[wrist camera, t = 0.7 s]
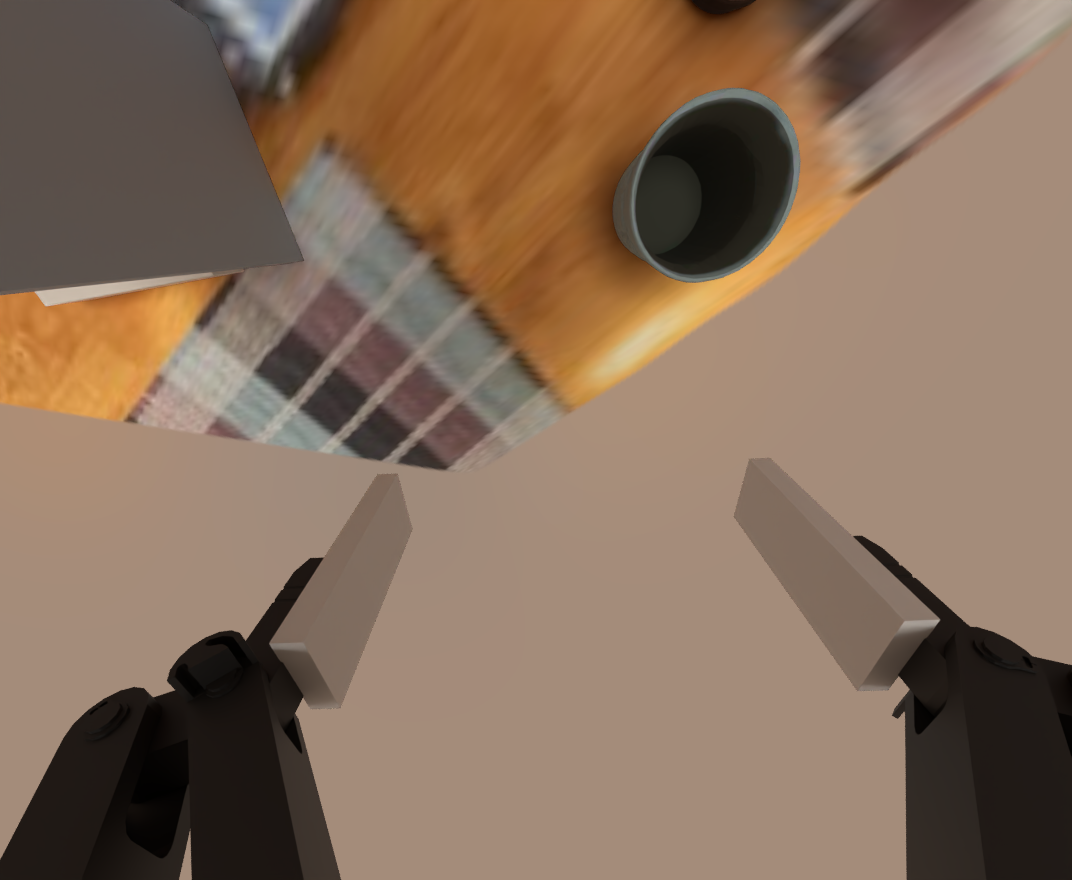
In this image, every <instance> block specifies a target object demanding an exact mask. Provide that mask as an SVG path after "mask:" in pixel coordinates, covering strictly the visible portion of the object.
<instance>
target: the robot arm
mask: <svg viewBox="0 0 1072 880" xmlns="http://www.w3.org/2000/svg"><path fill="white" fill-rule="evenodd" d="M734 518H735V519H736V520H737V522H738V523H739V525H740V526H741V527H742V529H743V530H744V532H745V533H746V534H747V536H748V537H749V539H750V540H751V542H752V543H753V544H754V546H755V547H756V549H757V550H758V551H759V553H760V554H761V556H762V557H763V558H764V560H765V561H766V563H767V564H768V565H769V567H770V568H771V570H772V571H773V573H774V574H775V576H776V577H777V578H778V580H779V581H780V582H781V584H782V585H783V587H784V588H785V590H786V591H787V592H788V594H789V595H790V597H791V598H792V599H793V601H794V602H795V604H796V605H797V607H798V608H799V609H800V611H801V612H802V614H803V615H804V617H805V618H806V619H807V621H808V622H809V624H810V625H811V626H812V628H813V629H814V631H815V632H816V633H817V635H818V636H819V638H820V639H821V641H822V642H823V643H824V645H825V646H826V647H827V649H828V650H829V652H830V653H831V655H832V656H833V657H834V659H835V660H836V662H837V663H838V665H839V666H840V667H841V669H842V670H843V672H844V673H845V674H846V676H847V677H848V678H849V680H850V681H851V683H852V684H853V686H854V687H855V688H856V690H857V691H876V690H889V688H890V687H891V686H892V684H893V683H894V682H895V680H896V679H897V678H898V676H899V677H900V678H901V679H902V680H903V681H904V683H905V684H906V685H907V686H908V687H909V689H910V690H909V691H908V693H907V694H906V695H905V696H904V698H903V699H902V700H901V701H900V703H899V704H898V705H897V706H896V708H895V709H894V712H893V715H892V716H894V717H895V718H899V717H900V716H901V714H902V713H903V712H905V738H906V739H905V746H906V857H907V858H906V861H907V880H1072V665H1068V664H1064V663H1059V662H1055V661H1051V660H1046V659H1042V658H1037V657H1033V656H1031V655H1030V654H1029V653H1028V652H1027V651H1026V650H1024V649H1023V648H1021V647H1020V646H1018V645H1017V644H1015V643H1014V642H1012V641H1011V640H1009V639H1007V638H1005V637H1003V636H1001V635H998V634H996V633H994V632H992V631H988V630H985V629H981V628H978V627H970V626H969V625H967V624H966V623H965V622H963V620H962V619H961V618H960V617H958V616H957V615H956V614H955V613H954V612H953V611H952V610H951V609H949V608H948V607H947V606H946V605H945V604H944V603H943V602H942V601H941V600H940V599H938V598H937V597H936V596H935V595H934V594H933V593H932V592H931V591H929V589H927V588H926V587H925V586H924V585H923V584H922V583H921V582H920V581H919V580H917V579H916V578H913V577H912V574H911V573H910V572H909V571H907V570H906V569H905V568H904V567H903V566H900V565H899V562H897V561H896V560H895V559H894V558H893V557H892V556H891V555H890V554H889V553H887V552H886V551H885V550H884V549H883V548H881V547H880V546H878V545H877V544H875V543H873V542H871V541H870V540H868V539H866V538H865V537H863V536H852V535H851V534H850V533H849V532H848V531H847V530H845V529H844V528H843V527H842V526H841V525H840V524H839V523H838V522H837V521H836V520H835V519H834V518H833V517H832V516H831V515H830V514H829V513H828V512H827V511H825V510H824V509H823V508H822V507H821V506H820V505H819V504H818V503H817V502H816V501H815V500H814V499H813V498H812V497H811V496H810V495H809V494H808V493H806V492H805V491H804V490H803V489H802V488H801V487H800V486H799V485H798V484H797V483H796V482H795V481H794V480H793V479H792V478H790V477H789V476H788V474H787V473H785V472H784V471H783V470H782V469H781V468H780V467H779V466H778V465H777V464H776V463H775V462H774V461H773V460H772V459H771V458H757V459H749V462H748V466H747V469H746V473H745V477H744V481H743V484H742V488H741V491H740V495H739V499H738V502H737V506H736V510H735V513H734ZM411 532H412V525H411V522H410V518H409V514H408V511H407V507H406V503H405V499H404V496H403V492H402V488H401V484H400V481H399V477H398V474H378V475H377V476H376V477H375V479H374V481H373V482H372V484H371V485H370V487H369V489H368V490H367V491H366V493H365V495H364V496H363V498H362V499H361V501H360V502H359V504H358V505H357V507H356V509H355V510H354V512H353V513H352V515H351V516H350V518H349V520H348V521H347V523H346V524H345V526H344V527H343V529H342V531H341V532H340V534H339V535H338V537H337V538H336V540H335V542H334V543H333V544H332V546H331V548H330V549H329V551H328V552H327V554H326V555H325V557H324V558H310V559H309V560H308V561H306V562H305V563H304V564H303V565H302V566H301V567H300V568H298V569H297V570H296V571H295V572H294V573H293V574H292V576H291V577H290V579H289V580H288V582H287V583H286V584H285V586H284V589H283V590H281V592H280V593H279V594H278V596H277V597H276V599H275V602H274V603H272V604H271V606H270V607H269V609H268V610H267V611H266V613H265V614H264V616H263V617H262V619H261V620H260V621H259V623H258V624H257V626H256V627H255V629H254V630H253V631H252V633H251V634H250V636H249V637H248V638H247V640H246V641H245V640H244V639H243V637H242V635H241V634H240V633H239V632H234V631H223V632H218V633H216V634H213V635H211V636H208V637H206V638H204V639H202V640H201V641H199V642H198V643H196V644H194V645H193V646H192V647H190V648H189V649H188V650H187V651H186V652H185V653H184V654H183V655H181V656H180V657H179V658H178V660H177V661H176V663H175V664H174V665H173V667H172V668H171V669H170V672H169V676H168V679H167V681H168V683H169V684H170V685H171V686H172V687H173V688H174V689H175V691H172V692H169V693H166V694H163V695H160V696H156V697H152V696H151V695H150V694H149V693H148V692H147V691H146V690H145V689H144V688H137V687H133V688H129V689H125V690H121V691H119V692H117V693H115V694H113V695H111V696H109V697H107V698H105V699H103V700H102V701H100V702H99V703H97V704H96V705H95V706H93V707H92V708H90V709H89V710H88V711H87V712H85V713H84V714H83V715H82V716H81V717H80V718H79V719H78V720H77V721H76V722H75V723H74V724H73V725H72V727H71V728H70V730H69V731H68V732H67V734H66V735H65V737H64V738H63V740H62V742H61V744H60V746H59V748H58V750H57V752H56V753H55V756H54V757H53V759H52V761H51V763H50V765H49V767H48V769H47V771H46V773H45V775H44V777H43V779H42V780H41V782H40V784H39V786H38V788H37V790H36V792H35V794H34V796H33V798H32V800H31V802H30V804H29V805H28V807H27V810H26V811H25V814H24V815H23V817H22V819H21V821H20V823H19V825H18V827H17V829H16V831H15V832H14V834H13V836H12V839H11V840H10V842H9V844H8V846H7V848H6V850H5V852H4V854H3V856H2V857H1V859H0V880H179V877H180V872H181V867H182V863H183V859H184V854H185V850H186V845H187V841H188V836H189V831H191V867H192V880H341V879H340V874H339V870H338V866H337V863H336V859H335V855H334V851H333V847H332V844H331V840H330V836H329V833H328V829H327V825H326V821H325V818H324V813H323V810H322V806H321V802H320V798H319V795H318V791H317V787H316V784H315V780H314V776H313V772H312V768H311V765H310V761H309V757H308V753H307V750H306V746H305V742H304V738H303V734H302V730H301V727H300V723H299V719H298V718H297V716H296V714H295V712H296V710H297V708H298V706H299V704H300V702H301V700H302V698H304V699H305V701H306V703H307V704H308V706H309V707H310V709H332V708H340V707H341V705H342V702H343V700H344V698H345V695H346V693H347V690H348V688H349V685H350V683H351V680H352V677H353V675H354V673H355V670H356V668H357V665H358V663H359V660H360V658H361V655H362V653H363V651H364V648H365V645H366V643H367V641H368V638H369V636H370V633H371V631H372V628H373V626H374V623H375V621H376V618H377V616H378V613H379V611H380V609H381V606H382V603H383V601H384V599H385V596H386V594H387V591H388V589H389V586H390V584H391V581H392V579H393V576H394V574H395V571H396V569H397V567H398V564H399V562H400V559H401V557H402V554H403V552H404V549H405V547H406V544H407V542H408V539H409V537H410V534H411Z"/></svg>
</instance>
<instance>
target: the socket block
mask: <svg viewBox="0 0 1072 880" xmlns="http://www.w3.org/2000/svg"><path fill="white" fill-rule="evenodd" d="M299 261H304V260H303V257H302V255H301V252H300V250H299V247H298V245H297V243H296V240H295V238H294V235H293V233H292V230H291V228H290V226H289V223H288V221H287V218H286V216H285V213H284V211H283V208H282V206H281V204H280V201H279V199H278V196H277V194H276V191H275V189H274V186H273V184H272V182H271V179H270V177H269V174H268V172H267V169H266V167H265V165H264V162H263V160H262V157H261V155H260V152H259V150H258V147H257V145H256V143H255V140H254V138H253V135H252V133H251V130H250V128H249V126H248V123H247V121H246V118H245V116H244V113H243V111H242V108H241V106H240V104H239V101H238V99H237V96H236V94H235V91H234V89H233V87H232V84H231V82H230V79H229V77H228V74H227V72H226V69H225V67H224V65H223V62H222V60H221V57H220V55H219V52H218V50H217V47H216V45H215V43H214V40H213V38H212V35H211V33H210V30H209V28H208V26H207V24H205V23H204V22H202V21H200V20H199V19H197V18H196V17H194V16H193V15H191V14H190V13H188V12H187V11H185V10H184V9H182V8H181V7H179V6H177V5H176V4H174V3H173V2H171V1H170V0H0V295H6V294H15V293H24V292H34V291H35V293H36V294H37V295H38V297H39V298H40V299H41V301H42V302H43V303H44V305H45V306H52V305H59V304H66V303H73V302H80V301H87V300H94V299H99V298H104V297H110V296H115V295H121V294H126V293H131V292H137V291H142V290H148V289H153V288H158V287H164V286H169V285H175V284H180V283H186V282H191V281H196V280H202V279H207V278H213V277H218V276H223V275H229V274H234V273H240V272H244V270H243V269H245V268H255V267H264V266H273V265H282V264H288V263H294V262H299Z"/></svg>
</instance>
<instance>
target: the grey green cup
mask: <svg viewBox="0 0 1072 880" xmlns="http://www.w3.org/2000/svg"><path fill="white" fill-rule="evenodd" d="M799 173H800V155H799V146H798V140H797V137H796V134H795V131H794V128H793V126H792V124H791V122H790V121H789V119H788V117H787V115H786V114H785V113H784V112H783V111H782V109H781V108H780V107H779V106H778V105H777V104H776V103H775V102H774V101H772V100H771V99H770V98H768V97H766V96H765V95H763V94H761V93H759V92H756V91H751V90H747V89H743V88H727V89H721V90H717V91H713V92H709V93H706V94H704V95H701V96H698V97H696V98H694V99H692V100H691V101H689V102H687V103H686V104H684V105H683V106H681V107H680V108H679V109H678V110H677V111H675V112H674V113H673V114H672V115H671V116H670V117H669V118H668V119H667V120H665V121H664V122H663V123H662V124H661V126H660V127H659V128H658V129H657V131H656V132H655V133H654V134H653V136H652V137H651V139H650V140H649V142H648V143H647V145H646V146H645V148H644V150H642V151H641V152H640V153H639V154H638V156H637V157H636V158H635V159H634V160H633V162H632V163H631V164H630V165H629V166H628V168H627V169H626V170H625V172H624V173H623V175H622V177H621V179H620V181H619V183H618V186H617V188H616V191H615V195H614V200H613V221H614V226H615V230H616V233H617V235H618V237H619V239H620V240H621V242H622V243H623V245H624V246H625V247H626V248H627V249H628V250H629V251H630V252H632V253H633V254H635V255H636V256H637V257H639V258H640V259H642V260H644V261H646V262H647V263H648V264H650V265H651V266H652V267H654V268H655V269H656V270H658V271H659V272H661V273H662V274H664V275H665V276H667V277H670V278H672V279H675V280H678V281H683V282H692V283H696V282H704V281H709V280H714V279H719V278H722V277H725V276H727V275H729V274H731V273H734V272H736V271H738V270H740V269H741V268H743V267H744V266H746V265H747V264H749V263H750V262H751V261H753V260H754V259H755V258H756V257H757V256H759V255H760V254H761V253H762V252H763V251H764V250H765V249H766V248H767V247H768V246H769V244H770V243H771V242H772V240H773V239H774V238H775V236H776V235H777V234H778V232H779V231H780V229H781V228H782V226H783V224H784V222H785V220H786V218H787V216H788V214H789V212H790V210H791V207H792V204H793V202H794V199H795V195H796V191H797V187H798V181H799Z"/></svg>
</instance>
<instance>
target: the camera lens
mask: <svg viewBox="0 0 1072 880" xmlns="http://www.w3.org/2000/svg"><path fill="white" fill-rule="evenodd" d="M692 1H693V3H694V4H695V5H696V6H698V7H699V8H700V9H702V10H703V11H706V12H708V13H713V14H722V13H728V12H730V11H733V10H735V9H740V8H742V7H745V6H747V5H749V4H751V3H752V2H754V1H755V0H692Z"/></svg>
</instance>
